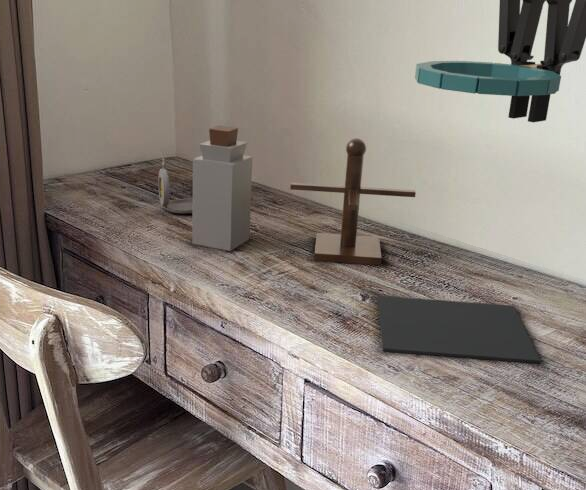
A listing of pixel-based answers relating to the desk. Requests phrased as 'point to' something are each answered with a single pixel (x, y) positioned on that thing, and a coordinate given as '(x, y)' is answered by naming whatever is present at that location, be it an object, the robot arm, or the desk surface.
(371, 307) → the desk surface
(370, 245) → the stand
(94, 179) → the desk surface
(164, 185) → the pocket watch
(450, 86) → the ring
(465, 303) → the mat
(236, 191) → the perfume bottle
